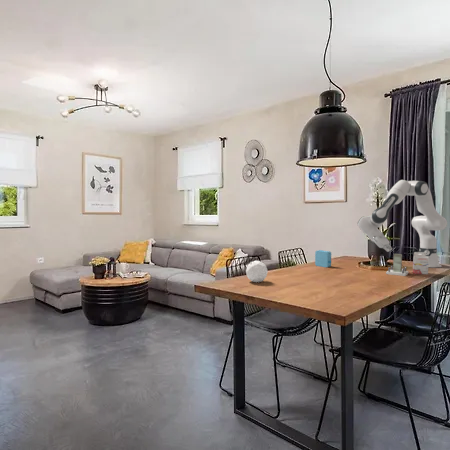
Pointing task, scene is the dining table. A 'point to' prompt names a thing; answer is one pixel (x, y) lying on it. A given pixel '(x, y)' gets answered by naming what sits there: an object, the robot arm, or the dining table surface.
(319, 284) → the dining table surface
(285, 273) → the dining table surface
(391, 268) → the standoff pins
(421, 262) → the ink cartridge box
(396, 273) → the mounting plate
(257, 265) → the geodesic sphere
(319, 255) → the data package
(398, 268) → the sage spacer block
